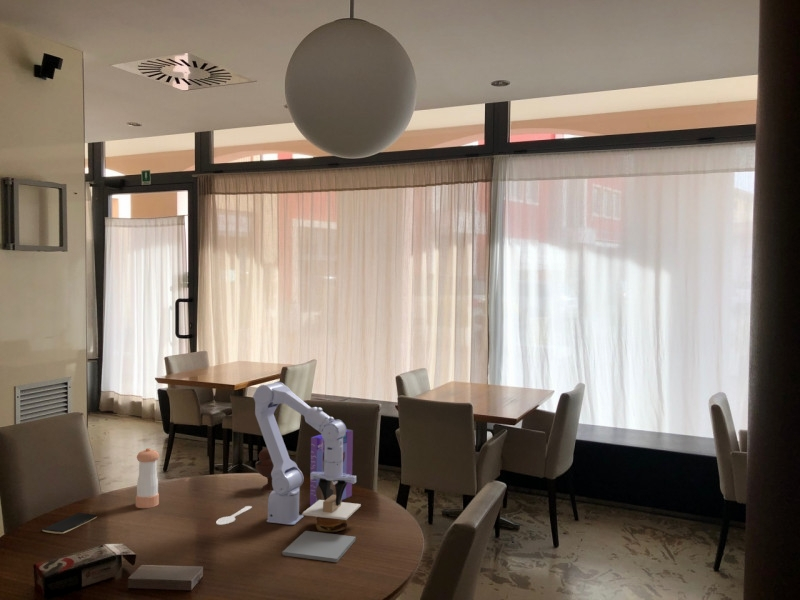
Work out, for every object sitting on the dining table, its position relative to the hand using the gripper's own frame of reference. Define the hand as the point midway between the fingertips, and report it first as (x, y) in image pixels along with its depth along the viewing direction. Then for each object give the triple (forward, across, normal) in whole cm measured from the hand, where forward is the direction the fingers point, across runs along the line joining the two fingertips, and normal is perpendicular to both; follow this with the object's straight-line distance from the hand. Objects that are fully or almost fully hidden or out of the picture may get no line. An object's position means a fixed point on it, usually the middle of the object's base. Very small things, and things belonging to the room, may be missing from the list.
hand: (332, 504), depth 193 cm
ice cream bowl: (+8, -36, +30) cm, 47 cm away
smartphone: (+8, -78, -21) cm, 81 cm away
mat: (+7, +2, -15) cm, 17 cm away
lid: (+2, 0, 0) cm, 2 cm away
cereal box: (+8, -9, +23) cm, 26 cm away
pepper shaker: (+8, -67, +1) cm, 67 cm away
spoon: (+8, -34, +1) cm, 35 cm away
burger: (+8, 0, 0) cm, 8 cm away
